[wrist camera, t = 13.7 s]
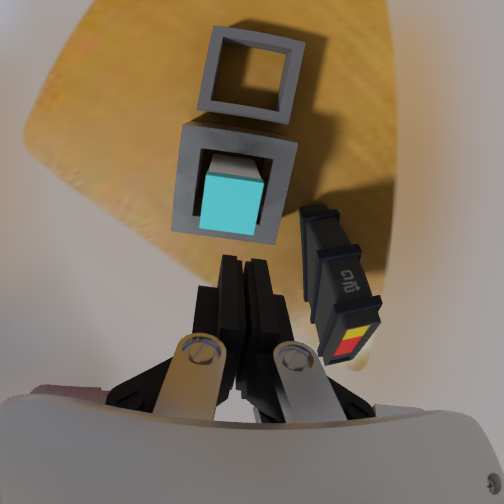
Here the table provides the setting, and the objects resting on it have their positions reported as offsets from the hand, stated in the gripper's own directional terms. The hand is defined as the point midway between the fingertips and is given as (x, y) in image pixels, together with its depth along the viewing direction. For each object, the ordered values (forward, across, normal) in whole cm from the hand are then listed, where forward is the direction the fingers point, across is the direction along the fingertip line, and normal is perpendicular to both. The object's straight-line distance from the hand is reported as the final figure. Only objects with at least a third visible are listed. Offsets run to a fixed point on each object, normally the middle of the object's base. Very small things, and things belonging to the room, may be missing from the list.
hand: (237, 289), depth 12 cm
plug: (+20, 0, +1) cm, 20 cm away
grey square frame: (+20, 0, -9) cm, 22 cm away
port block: (+20, 0, +1) cm, 20 cm away
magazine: (+20, -11, +9) cm, 25 cm away
